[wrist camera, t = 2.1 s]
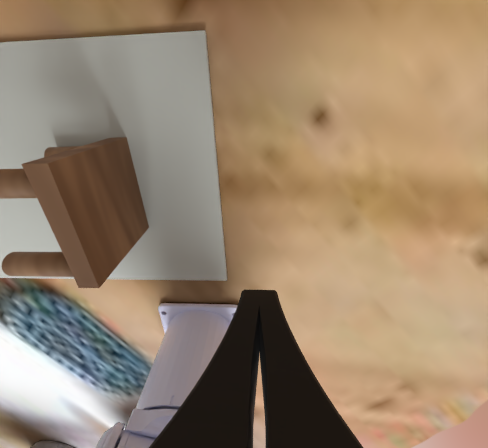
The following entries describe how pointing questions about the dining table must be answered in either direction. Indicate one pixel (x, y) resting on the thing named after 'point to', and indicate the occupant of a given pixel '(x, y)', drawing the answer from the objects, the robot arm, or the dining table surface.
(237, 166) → the dining table surface
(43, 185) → the stool
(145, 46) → the mat
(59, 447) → the coffeepot
